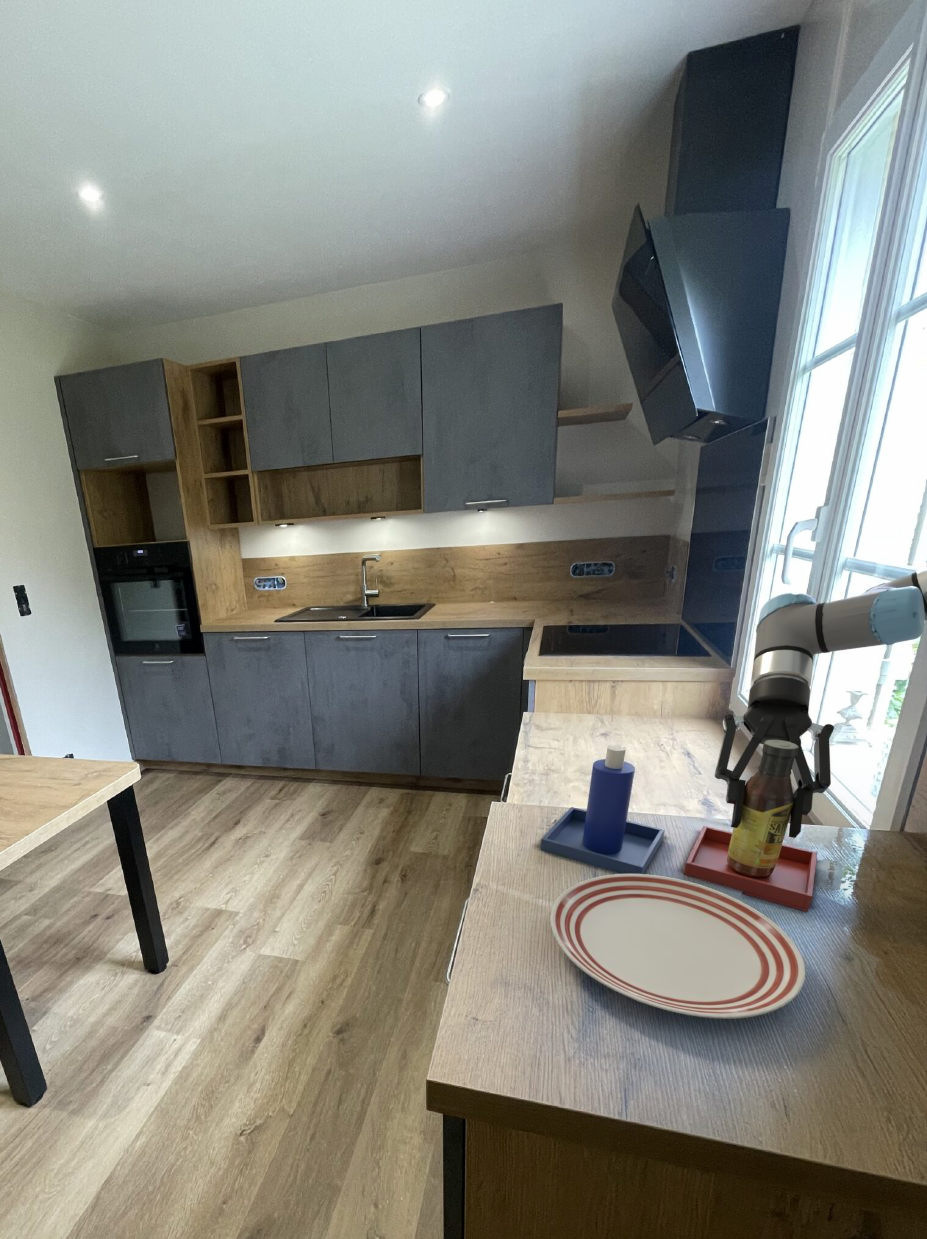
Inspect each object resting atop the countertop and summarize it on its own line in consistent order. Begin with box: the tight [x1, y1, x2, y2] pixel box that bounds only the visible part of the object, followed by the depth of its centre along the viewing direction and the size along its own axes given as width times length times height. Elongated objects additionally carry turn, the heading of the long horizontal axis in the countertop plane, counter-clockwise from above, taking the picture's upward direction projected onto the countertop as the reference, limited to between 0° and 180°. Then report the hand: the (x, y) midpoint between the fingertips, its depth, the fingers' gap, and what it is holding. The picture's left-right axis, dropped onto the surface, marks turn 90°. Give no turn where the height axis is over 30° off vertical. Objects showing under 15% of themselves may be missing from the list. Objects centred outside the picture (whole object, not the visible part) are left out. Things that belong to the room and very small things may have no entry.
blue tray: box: [539, 806, 666, 874], centre depth 100 cm, size 15×14×2 cm
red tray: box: [683, 825, 818, 913], centre depth 92 cm, size 15×14×2 cm
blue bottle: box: [582, 744, 636, 854], centre depth 97 cm, size 6×6×17 cm
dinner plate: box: [549, 873, 807, 1019], centre depth 76 cm, size 28×27×3 cm
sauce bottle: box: [727, 740, 799, 877], centre depth 88 cm, size 6×6×20 cm
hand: (764, 829), depth 86 cm, fingers closed on sauce bottle, 6 cm apart
